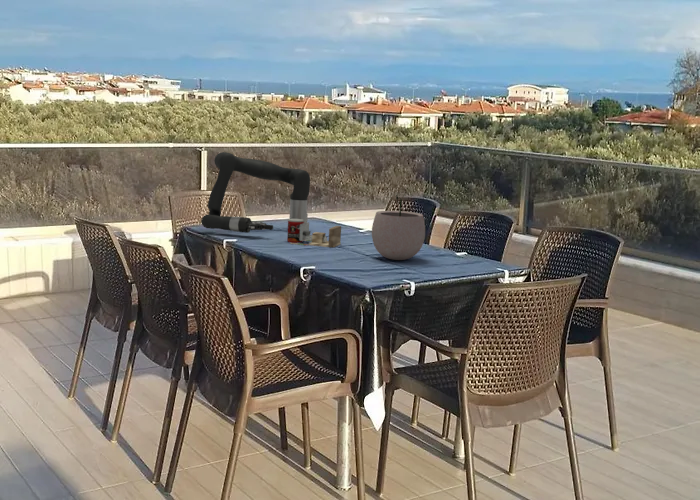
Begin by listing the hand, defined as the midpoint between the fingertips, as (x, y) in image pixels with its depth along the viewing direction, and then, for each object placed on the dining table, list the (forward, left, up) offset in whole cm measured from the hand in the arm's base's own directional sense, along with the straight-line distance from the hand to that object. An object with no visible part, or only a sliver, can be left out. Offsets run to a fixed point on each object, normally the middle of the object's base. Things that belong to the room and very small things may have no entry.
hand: (272, 227), depth 405 cm
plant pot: (+2, +71, -6) cm, 72 cm away
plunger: (-6, +21, -4) cm, 22 cm away
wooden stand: (-6, +22, -6) cm, 24 cm away
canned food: (-3, +12, -6) cm, 14 cm away
